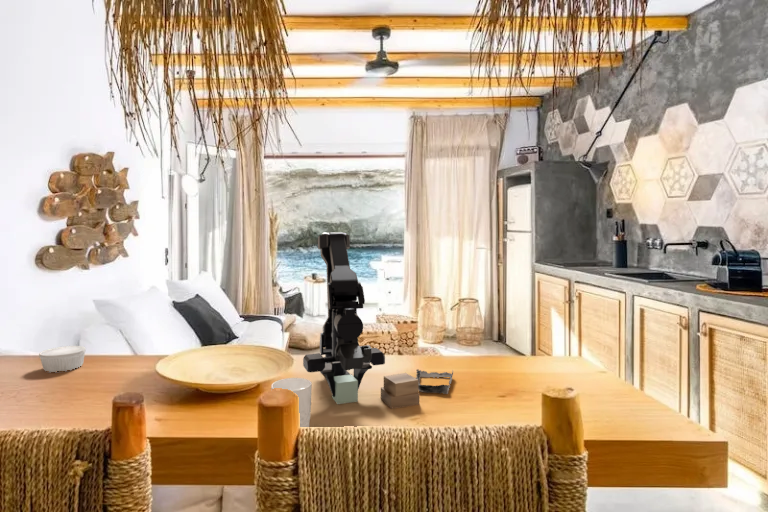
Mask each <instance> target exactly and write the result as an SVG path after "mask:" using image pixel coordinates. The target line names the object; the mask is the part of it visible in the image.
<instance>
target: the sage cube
mask: <svg viewBox="0 0 768 512" xmlns="http://www.w3.org/2000/svg"><path fill="white" fill-rule="evenodd" d="M334 383H335V397H333V396H332V395H331V398H332V400H333V401H334V402H335V403H336V404H337V405H341V404H348V403H355V402H359V389H358V380H357V379H356V378H355V377H354V374H351V373H350V375H342V376H334Z"/></svg>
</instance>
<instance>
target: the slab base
mask: <svg viewBox="0 0 768 512" xmlns="http://www.w3.org/2000/svg"><path fill="white" fill-rule="evenodd" d="M380 399H381V400H382V401H383V402H384V403H385V404H386V405H387V406H388V408H390V409H391V410H392V409H397V408H404V407H405V408H407V407H412V406H418V405H420V393H419V392H418V393H413V394H407V395H402V396H397V397H395V396H394V395H392V394H391V393H389V392H388V391H386V390H385V389H384V386H382V387H380Z"/></svg>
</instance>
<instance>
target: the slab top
mask: <svg viewBox="0 0 768 512" xmlns="http://www.w3.org/2000/svg"><path fill="white" fill-rule="evenodd" d="M383 387H384V389H385V390H386V391H388V392H389V393H391V394H392V395H394V396H395V397H397V396H402V395H407V394H413V393H419V390H418V379H416V377H414V376H412V375H410V374H409V373H407V372H401V373H396V374H389V375H383Z"/></svg>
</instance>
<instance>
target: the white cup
mask: <svg viewBox="0 0 768 512" xmlns="http://www.w3.org/2000/svg"><path fill="white" fill-rule="evenodd" d="M312 385H313V383H312V381H311V380H310V379H308V378H304V377H287V378H282V379H279V380H276V381H274V382H273V383H271V390H272V389H274V388H282V389H288V390H291V391H293V392H294V393H296V394H297V395H298V397H299V413H300V427H309V428H310V421H311V411H312V409H311V408H312V407H311V406H312V387H313V386H312Z"/></svg>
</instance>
